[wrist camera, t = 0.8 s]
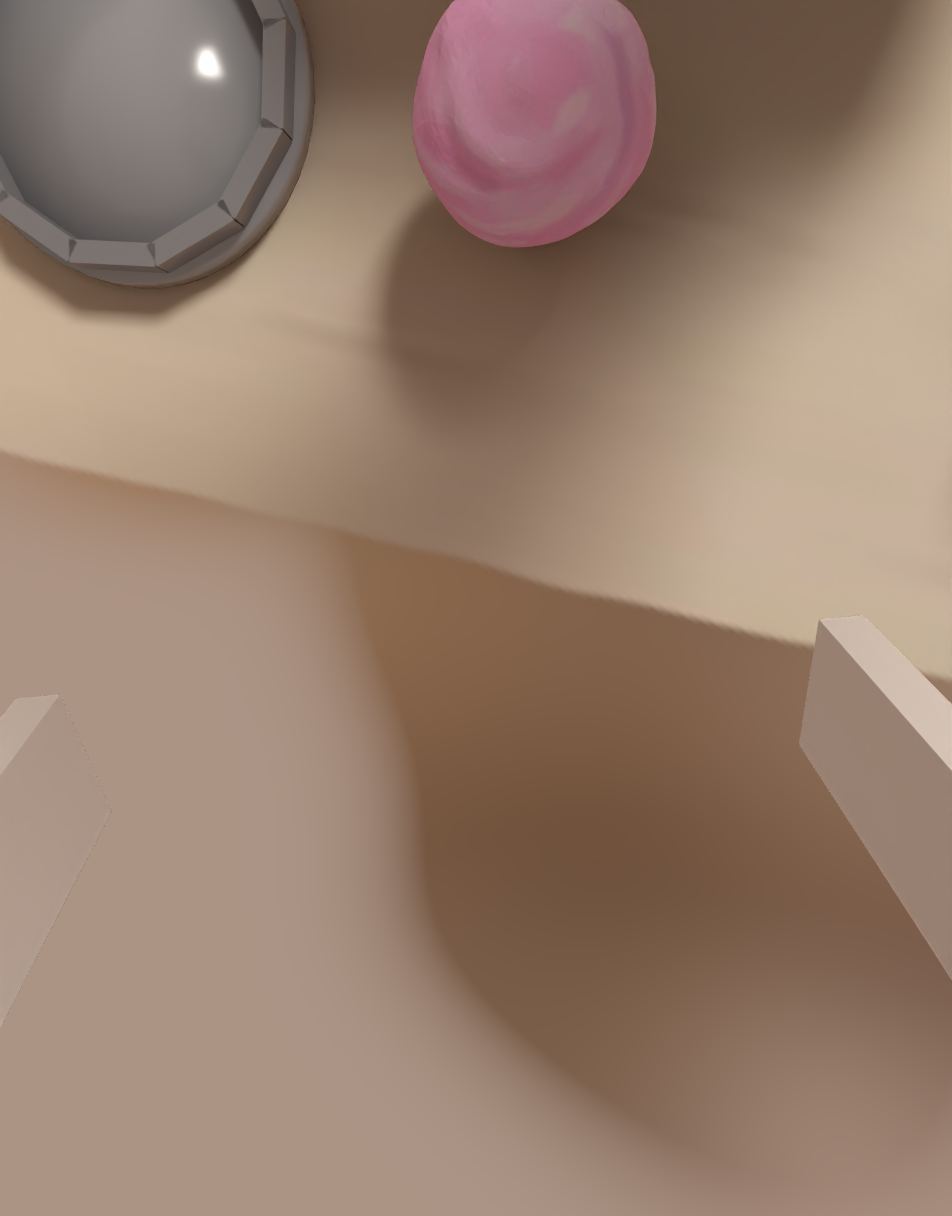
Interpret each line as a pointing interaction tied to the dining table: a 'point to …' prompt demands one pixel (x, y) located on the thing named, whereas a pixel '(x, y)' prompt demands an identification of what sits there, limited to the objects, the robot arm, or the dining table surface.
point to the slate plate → (151, 130)
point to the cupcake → (533, 115)
